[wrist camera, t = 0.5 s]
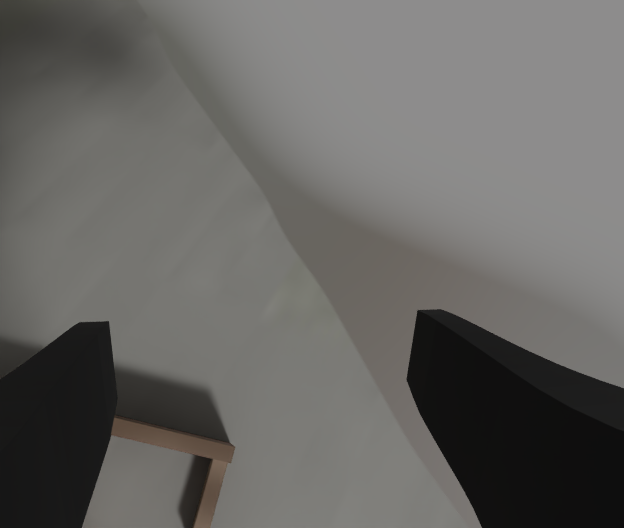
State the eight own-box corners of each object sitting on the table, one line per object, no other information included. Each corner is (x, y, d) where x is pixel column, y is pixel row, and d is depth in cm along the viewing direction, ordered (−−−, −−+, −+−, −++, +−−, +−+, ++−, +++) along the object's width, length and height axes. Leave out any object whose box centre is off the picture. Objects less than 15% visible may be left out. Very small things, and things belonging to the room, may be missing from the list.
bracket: (202, 542, 33) (204, 559, 29) (-81, 483, 30) (-119, 493, 27) (230, 443, 35) (235, 446, 32) (-33, 379, 33) (-61, 375, 29)
